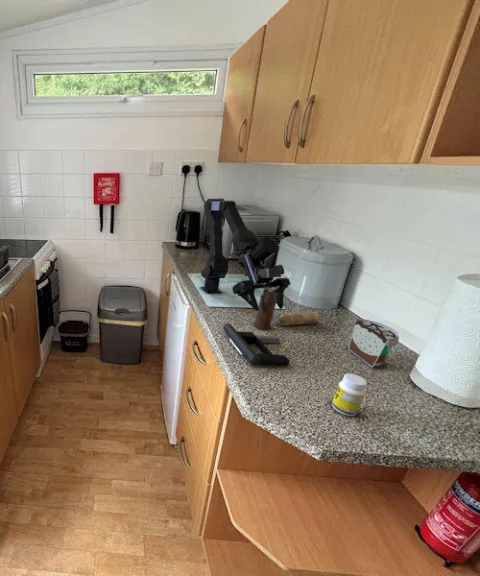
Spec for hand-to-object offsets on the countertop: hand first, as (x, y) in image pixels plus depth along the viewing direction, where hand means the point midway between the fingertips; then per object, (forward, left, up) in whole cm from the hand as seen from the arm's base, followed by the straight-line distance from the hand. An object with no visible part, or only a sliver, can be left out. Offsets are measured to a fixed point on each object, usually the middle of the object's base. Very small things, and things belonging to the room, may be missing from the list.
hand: (269, 309), depth 104 cm
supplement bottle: (+37, -7, -7) cm, 38 cm away
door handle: (+10, -10, -8) cm, 17 cm away
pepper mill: (-2, 0, -7) cm, 7 cm away
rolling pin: (-1, +14, -7) cm, 16 cm away
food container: (+21, +19, -7) cm, 29 cm away
